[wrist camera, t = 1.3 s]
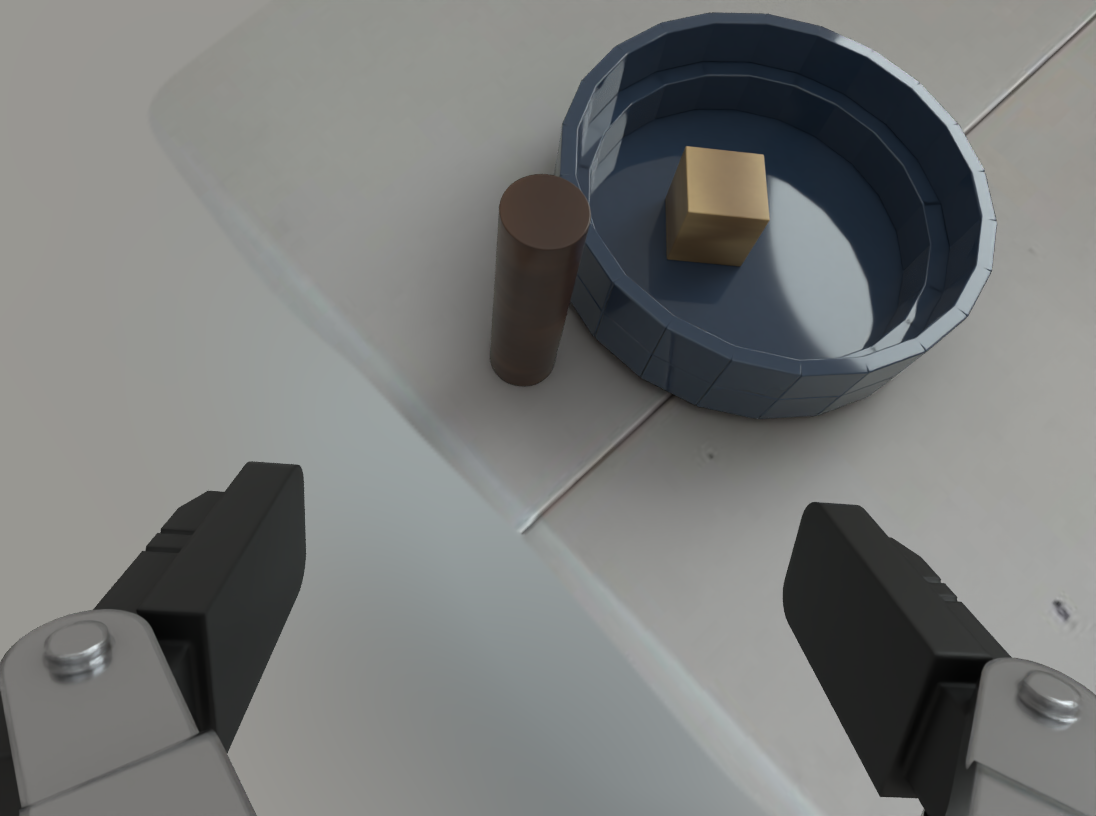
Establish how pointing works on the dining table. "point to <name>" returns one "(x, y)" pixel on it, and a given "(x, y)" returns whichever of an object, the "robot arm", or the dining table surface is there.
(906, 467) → the dining table surface
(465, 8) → the dining table surface
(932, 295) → the bowl
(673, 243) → the block
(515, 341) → the brown cylinder
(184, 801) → the robot arm
